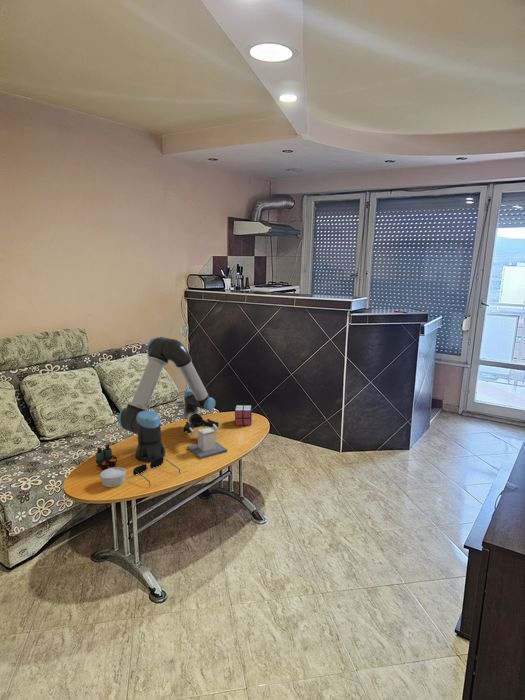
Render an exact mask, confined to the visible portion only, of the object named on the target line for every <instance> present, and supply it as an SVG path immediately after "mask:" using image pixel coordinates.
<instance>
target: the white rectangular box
mask: <svg viewBox="0 0 525 700" xmlns="http://www.w3.org/2000/svg"><path fill="white" fill-rule="evenodd" d="M215 441H216V431H215V430H214V429H213V428H212V427H203V428H199V429H197V444H198V447H199V448H200V449H201V450H202V451H203V452H205V451H209V450H213V449H216V445H215Z"/></svg>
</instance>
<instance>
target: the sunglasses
mask: <svg viewBox="0 0 525 700" xmlns="http://www.w3.org/2000/svg"><path fill="white" fill-rule="evenodd" d="M164 460H165V461H166V462H168V463H170V465H171V466H173V467H175V468H176V469H178V473H179V474H181V470H180V468H179V467H178V466H176V465H174V464H173V463H172V462H170V461H169V460H167V459H166V458H164V457H163V458H159V459H155V460H153V461H152V462H149V463H150V464H148V465H147V464H146V463H143V464H139V465H138V466H136V467H134V468H133V471H132V475H134V476H137V475H136V474H138V473H139V474H138V475H140V476H141V477H142V478H144V479H145V480H146V481H147V482H148V484H149V487H150V486H152V485H151V482H150V480H149V479H148V478H146V477H145V476H144V475H143V474H142V473H141V472H143V471H145V472H146V471H147V470H148V469H151V468H153V467H155V468H157V467H156V466H158V467H160V466H162V465H163V463H164ZM159 465H160V466H159ZM148 467H149V468H148ZM153 469H154V468H153ZM143 473H144V472H143Z"/></svg>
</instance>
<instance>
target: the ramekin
mask: <svg viewBox="0 0 525 700" xmlns="http://www.w3.org/2000/svg"><path fill="white" fill-rule="evenodd" d="M126 474H127V470H126V468H123V467H118V466H115V467H108V469H106V470H101V472H100V474H99V478H100V479H101V483H102V485H103V486H104V487H105V486H106V487H105V488H108V487H113V488H116V487H115V486H118V487H120V486H122V485H123V484H124V483H125V480H126ZM123 482H124V483H123ZM122 483H123V484H122ZM121 484H122V485H121ZM119 485H120V486H119Z"/></svg>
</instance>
